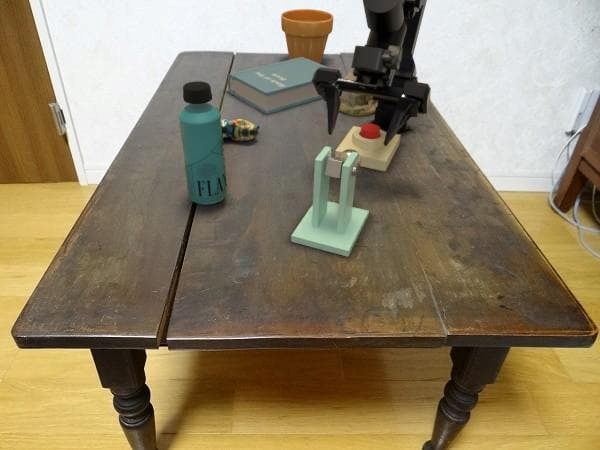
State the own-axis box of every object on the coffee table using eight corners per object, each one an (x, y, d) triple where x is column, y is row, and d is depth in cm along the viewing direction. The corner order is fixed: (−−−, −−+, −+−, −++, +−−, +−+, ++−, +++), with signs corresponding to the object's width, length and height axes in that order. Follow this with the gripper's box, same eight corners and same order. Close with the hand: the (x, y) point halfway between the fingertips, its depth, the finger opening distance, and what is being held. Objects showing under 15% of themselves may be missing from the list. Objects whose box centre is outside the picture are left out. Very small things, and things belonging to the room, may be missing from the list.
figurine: (193, 114, 104) (262, 116, 102) (194, 134, 105) (262, 137, 104) (177, 119, 94) (253, 122, 92) (178, 142, 95) (254, 144, 94)
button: (363, 130, 96) (364, 122, 94) (381, 133, 94) (382, 125, 93) (358, 137, 93) (359, 129, 92) (376, 141, 92) (377, 133, 91)
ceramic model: (351, 120, 108) (356, 76, 102) (321, 103, 115) (323, 61, 109) (396, 106, 115) (403, 64, 109) (365, 91, 122) (369, 51, 116)
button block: (352, 135, 102) (354, 117, 99) (399, 144, 99) (402, 126, 97) (334, 160, 93) (335, 142, 90) (385, 171, 90) (388, 152, 88)
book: (266, 114, 109) (266, 93, 106) (228, 92, 119) (227, 72, 116) (340, 92, 121) (341, 73, 118) (299, 74, 131) (300, 55, 128)
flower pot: (340, 63, 139) (344, 15, 131) (308, 75, 130) (310, 24, 123) (303, 52, 146) (304, 6, 139) (270, 63, 138) (270, 14, 130)
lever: (339, 167, 79) (343, 146, 78) (361, 172, 78) (365, 150, 77) (319, 178, 68) (323, 153, 67) (343, 183, 67) (347, 158, 66)
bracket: (316, 204, 81) (320, 134, 73) (368, 216, 78) (377, 145, 70) (290, 241, 72) (292, 167, 65) (348, 257, 70) (356, 181, 62)
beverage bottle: (195, 217, 77) (180, 96, 65) (183, 196, 82) (167, 80, 70) (234, 207, 79) (226, 89, 67) (220, 187, 84) (210, 74, 72)
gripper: (318, 14, 74) (289, 108, 72) (442, 29, 69) (414, 131, 67) (331, 52, 85) (307, 135, 83) (439, 68, 79) (415, 157, 77)
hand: (357, 139), depth 77 cm, fingers open, 9 cm apart
